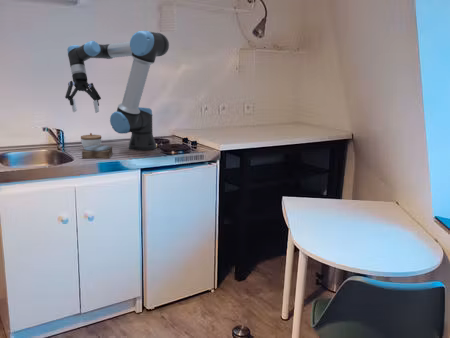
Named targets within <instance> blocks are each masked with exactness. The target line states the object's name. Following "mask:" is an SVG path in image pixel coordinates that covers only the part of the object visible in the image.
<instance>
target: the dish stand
mask: <svg viewBox="0 0 450 338" xmlns="http://www.w3.org/2000/svg"><path fill="white" fill-rule="evenodd" d="M112 155H113V146H109V145H106V144H103V145H102V144H101V145H93V146H87V147H84V148H83V150H82V151H81V156H82V157H81V159H110V158H111V156H112Z"/></svg>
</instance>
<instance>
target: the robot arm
mask: <svg viewBox="0 0 450 338" xmlns="http://www.w3.org/2000/svg"><path fill="white" fill-rule="evenodd" d="M169 48H170V42H169V40H168V38H167V36H166V35H165V34H163V33H160V32H154V31H148V30H139V31H137V32H135V33H133V35H132V36H131V38H130V40H129V41H124V42H114V43H107V44H102V43H101V44H99V43H98V42H96V41H95V40H90V41H87V42H86V43H83V44H82V45H77V44H73V45H70V46H68V47H67V49H66V50H67V58H68V61H69V66H70V70H71V71H70V72H71V75H72V76H71V79H72V80H71V81H69V82H68V84H67V85H68V86H67V90H66V92H65V96H64V97H65V99H67V101H69V105H70V106H71V109H72V112H73V113H75V112H77V111H78V109H77V104H76V99H75V98H74V97H75V96H76V95H77V93H78V92H85V93H86V94H87V95H88V96H89V97H90V98H91V99H92V101H93V108H94V113H95V114H96V113H99V112H100V109H99V106H100V102H99V101H100V100H102V98H101V95H100V93H98V91H97V89H96V88H95V86H94V83H93V82H91V83H89V82H88V75H87V71H86V65H85V64H86V63H85V61H88V60H90V59H106V60H111V59H113V58H123V57H132V59H133V60H132V65H131V68H130V71H129V76H128V79H127V83H126V87H125V91H124V94H123V98H122V102H121V103H120V104H118V105H117V110H116V111H114V112H113V113H111V115H110V117H109V119H110V120H109V123H110V126H111V127H112V129H113V131H114V132H116V133H118V134H120V135H121V134H122V135H123V134H128V133H131V136H130V140H129V142H128V149H129V150H132V151H150V150H151V151H152V150H155V149H156V148H157V143H156V140H155V138H154V134H153V111H152V108H150V107H140V103H141V101H142V100H141V99H142V97H143V93H144V90H145V86H146V82H147V79H148V74H149V71H150V67H151V65H152V64H155V62H156V58H157V57H162V56H164V55H166V54H167V52H168V51H169V50H170V49H169ZM73 86H74V89H73ZM72 90H73V91H72Z"/></svg>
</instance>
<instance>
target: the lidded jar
mask: <svg viewBox="0 0 450 338" xmlns="http://www.w3.org/2000/svg"><path fill="white" fill-rule="evenodd" d="M80 142H81V145H82V147H83V149H84V147H87V146H93V145H102V135H100V134H93V133H92V132H90V133H89V134H84V135H81V136H80Z"/></svg>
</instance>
